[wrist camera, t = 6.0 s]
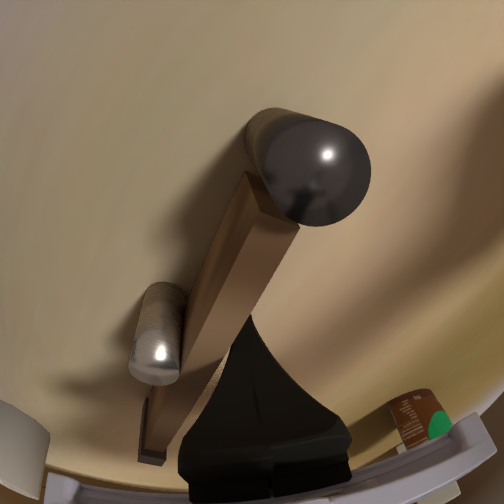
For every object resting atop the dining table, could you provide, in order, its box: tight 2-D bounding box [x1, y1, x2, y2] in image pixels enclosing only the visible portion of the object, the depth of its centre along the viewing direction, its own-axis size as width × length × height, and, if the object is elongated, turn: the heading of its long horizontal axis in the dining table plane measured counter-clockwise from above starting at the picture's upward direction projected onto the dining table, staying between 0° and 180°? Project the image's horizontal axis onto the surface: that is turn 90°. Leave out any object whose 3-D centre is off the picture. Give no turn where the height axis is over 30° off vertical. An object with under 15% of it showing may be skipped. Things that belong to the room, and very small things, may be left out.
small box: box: [396, 443, 461, 504], centre depth 29 cm, size 8×6×13 cm
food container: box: [387, 389, 453, 451], centre depth 21 cm, size 12×6×10 cm, turn 29°
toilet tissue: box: [0, 400, 50, 500], centre depth 18 cm, size 9×13×9 cm
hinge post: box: [244, 108, 371, 227], centre depth 9 cm, size 2×2×6 cm
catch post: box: [128, 282, 185, 386], centre depth 12 cm, size 2×2×4 cm
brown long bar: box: [138, 171, 300, 466], centre depth 13 cm, size 18×2×4 cm, turn 155°
